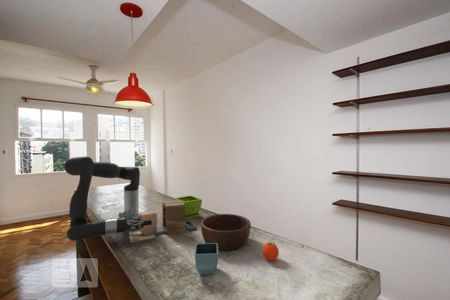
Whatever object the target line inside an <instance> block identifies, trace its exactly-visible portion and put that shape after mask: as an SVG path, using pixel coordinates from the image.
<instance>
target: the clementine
mask: <svg viewBox="0 0 450 300" xmlns="http://www.w3.org/2000/svg"><path fill="white" fill-rule="evenodd" d="M279 251H280V250H279V248H278V246H277V245H276V242H274V241H270V242H266V243H264V244H263V246H262V250H261V252H262V253H261V254H262V255H263V257H264V258H265V259H266V260H268V261H275V260H276V259H277V258H278V256H279V253H280V252H279Z"/></svg>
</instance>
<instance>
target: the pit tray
mask: <svg viewBox="0 0 450 300" xmlns="http://www.w3.org/2000/svg"><path fill="white" fill-rule="evenodd" d="M197 227H198V226H197V225H196V224H195V223H194V222H193V221H192V220H191V219H188V220H185V230H186V231H188V232H190V231H196V230H197Z"/></svg>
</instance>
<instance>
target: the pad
mask: <svg viewBox="0 0 450 300" xmlns="http://www.w3.org/2000/svg"><path fill="white" fill-rule="evenodd" d="M128 234H129V235H128V236H129V242H130V243H135V242H140V241H146V240H151V239H156V236H155V235H156V234H154V235H148V236H143V234H141V231H140V229H136V230H130V231H128Z"/></svg>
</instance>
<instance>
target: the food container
mask: <svg viewBox="0 0 450 300" xmlns="http://www.w3.org/2000/svg"><path fill="white" fill-rule="evenodd" d="M135 213H137V211H136V208H134V207H131V209H130V210H126V211H124V210H123V212H118V217H117V218H122V217H126V220H130V217H136V215H135ZM129 229H130V230H131V228H127V229H126V230H129Z"/></svg>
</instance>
